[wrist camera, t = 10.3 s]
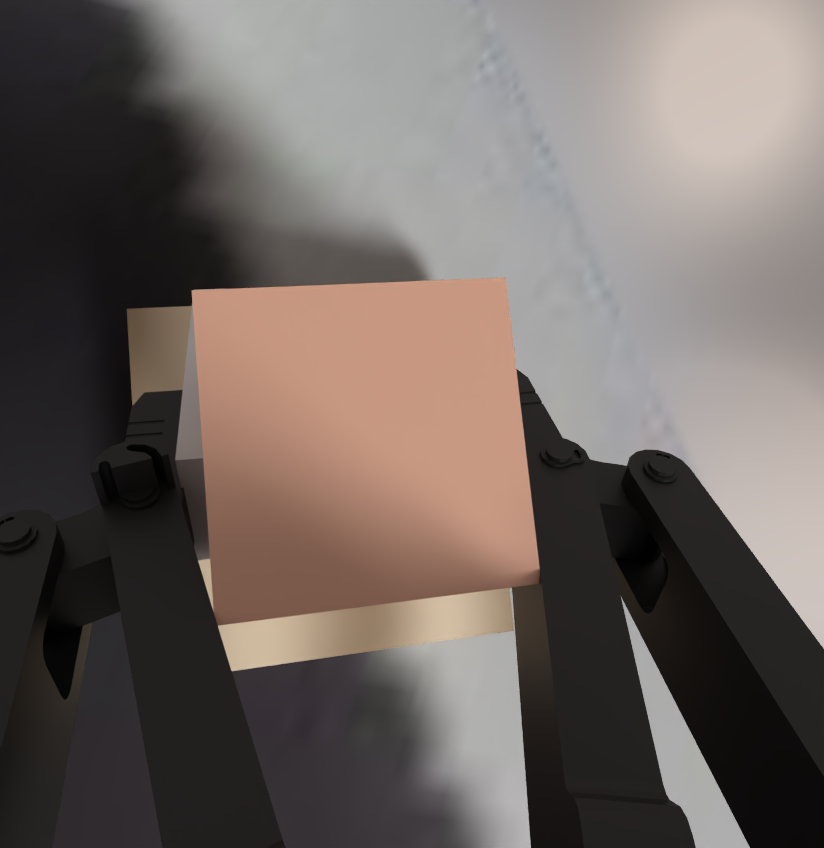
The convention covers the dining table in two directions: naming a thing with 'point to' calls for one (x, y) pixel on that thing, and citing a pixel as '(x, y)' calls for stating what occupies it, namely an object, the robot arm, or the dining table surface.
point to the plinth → (318, 632)
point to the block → (361, 445)
